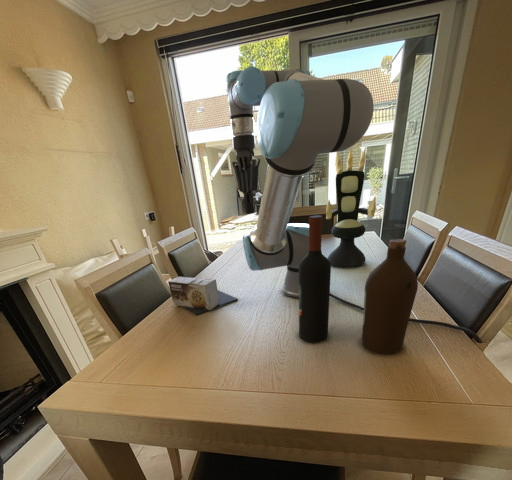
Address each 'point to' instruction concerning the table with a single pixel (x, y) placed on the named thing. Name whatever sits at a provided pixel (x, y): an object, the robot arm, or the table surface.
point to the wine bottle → (314, 288)
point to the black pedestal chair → (348, 213)
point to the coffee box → (194, 292)
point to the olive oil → (388, 301)
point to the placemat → (223, 300)
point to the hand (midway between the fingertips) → (250, 213)
